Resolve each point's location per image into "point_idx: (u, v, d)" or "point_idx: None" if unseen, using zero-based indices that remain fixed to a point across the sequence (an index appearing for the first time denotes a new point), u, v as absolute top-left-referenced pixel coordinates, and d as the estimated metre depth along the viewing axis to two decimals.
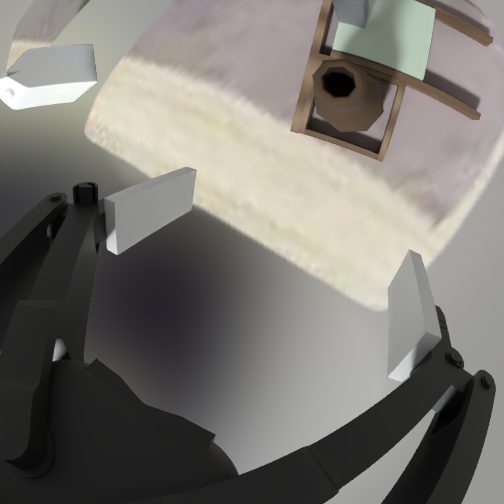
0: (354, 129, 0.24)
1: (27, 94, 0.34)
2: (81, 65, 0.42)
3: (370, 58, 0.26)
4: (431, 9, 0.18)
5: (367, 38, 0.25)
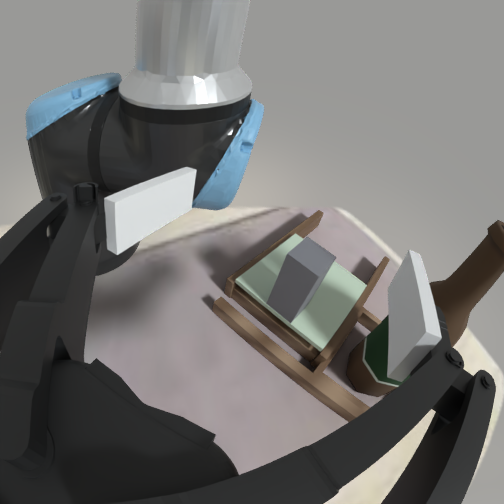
0: None
1: None
2: None
3: (343, 319, 0.31)
4: (295, 236, 0.39)
5: (320, 309, 0.31)
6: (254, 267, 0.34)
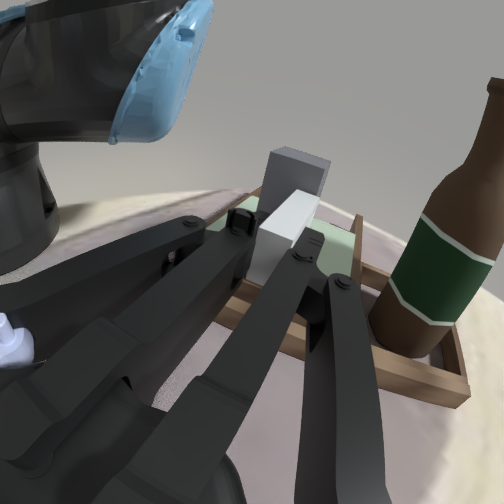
0: None
1: None
2: None
3: (349, 266, 0.23)
4: (253, 198, 0.31)
5: (317, 259, 0.23)
6: (213, 225, 0.24)
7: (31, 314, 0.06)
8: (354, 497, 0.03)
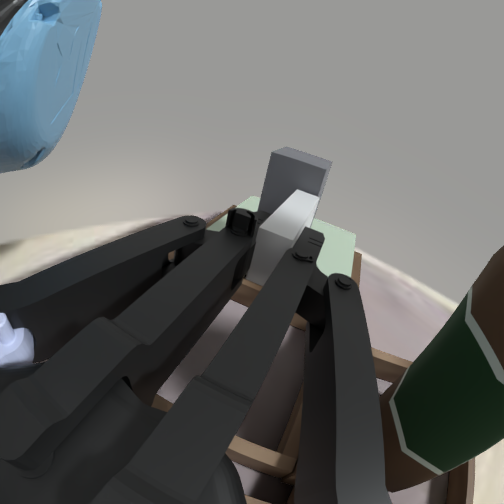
0: None
1: None
2: None
3: (350, 266, 0.23)
4: (253, 198, 0.31)
5: (318, 259, 0.23)
6: (214, 225, 0.24)
7: (31, 314, 0.06)
8: (354, 497, 0.03)
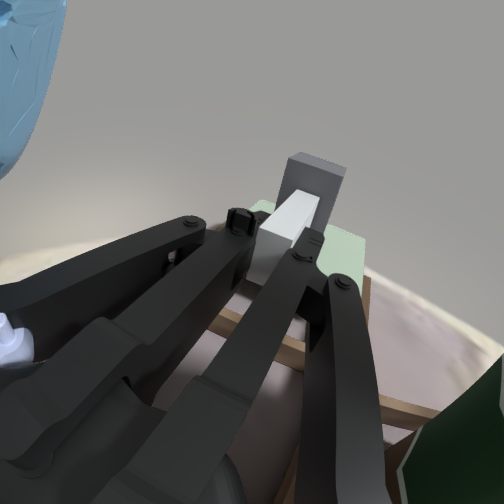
0: None
1: None
2: None
3: (361, 272, 0.23)
4: (263, 201, 0.31)
5: (330, 264, 0.23)
6: None
7: (31, 314, 0.06)
8: (354, 497, 0.03)
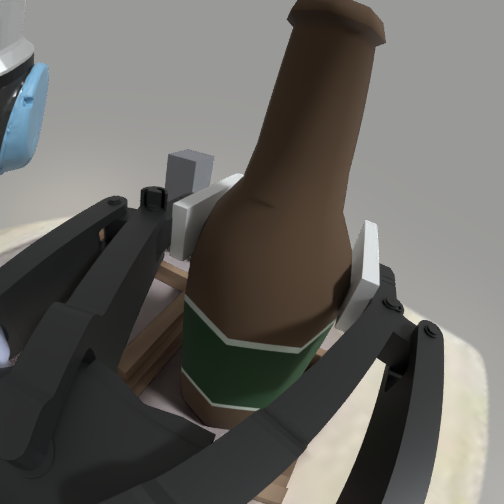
0: None
1: None
2: None
3: None
4: None
5: None
6: None
7: (1, 306, 0.05)
8: None
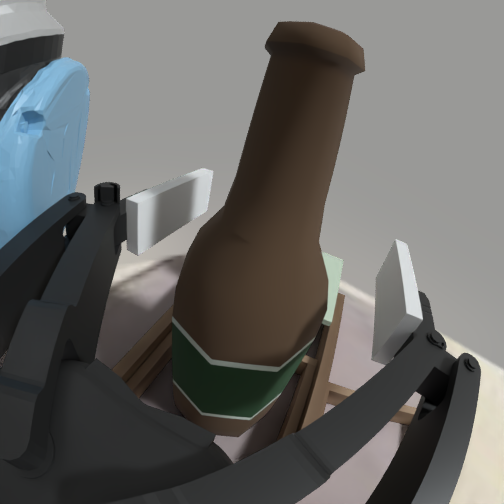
0: None
1: None
2: None
3: (336, 291, 0.29)
4: None
5: None
6: None
7: None
8: None
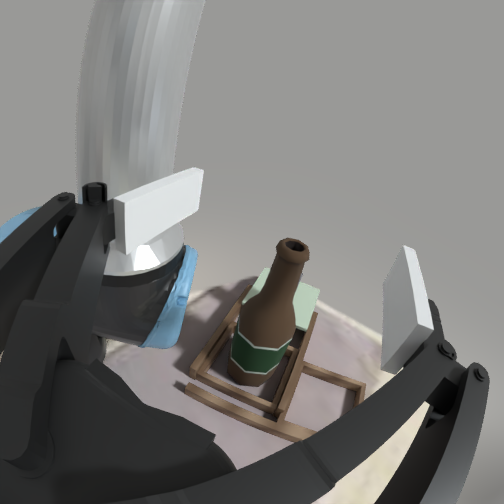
0: None
1: None
2: None
3: (312, 311, 0.51)
4: (266, 269, 0.59)
5: (297, 308, 0.51)
6: (249, 292, 0.52)
7: None
8: None
